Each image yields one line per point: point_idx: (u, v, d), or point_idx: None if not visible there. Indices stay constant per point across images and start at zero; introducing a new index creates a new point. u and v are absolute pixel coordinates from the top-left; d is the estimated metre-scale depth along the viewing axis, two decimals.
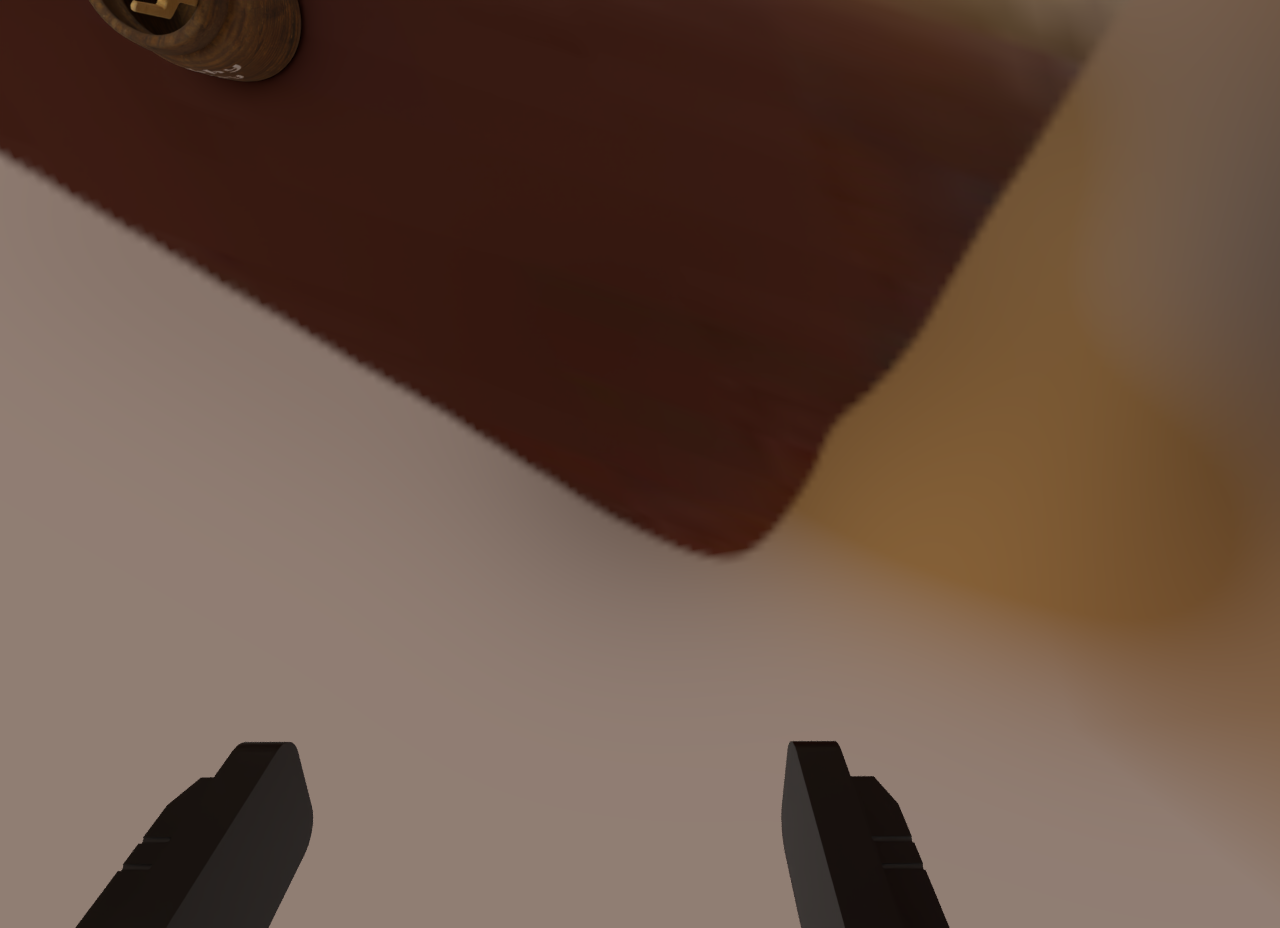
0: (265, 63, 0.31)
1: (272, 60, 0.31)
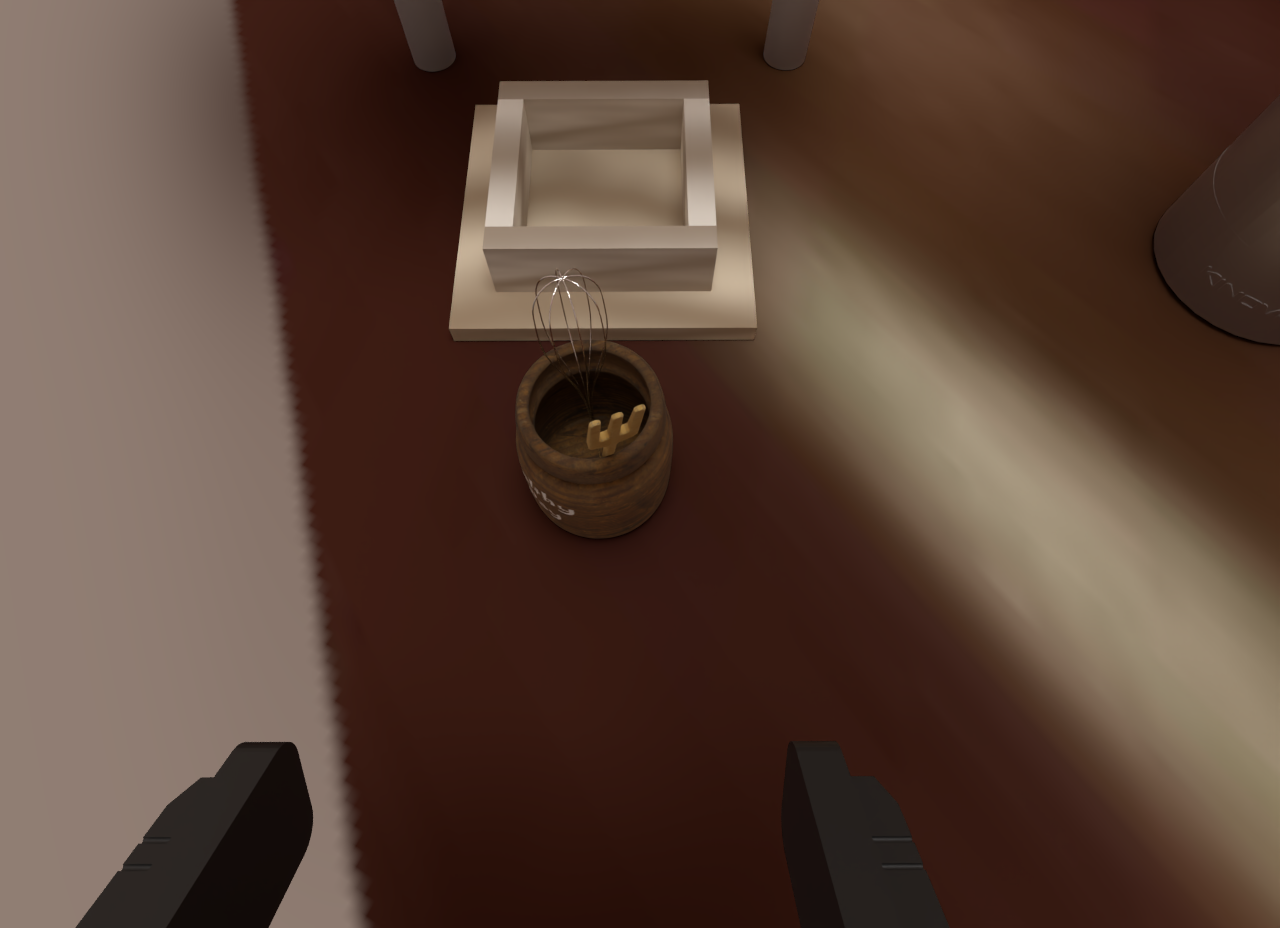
0: (591, 526, 0.27)
1: (598, 529, 0.27)
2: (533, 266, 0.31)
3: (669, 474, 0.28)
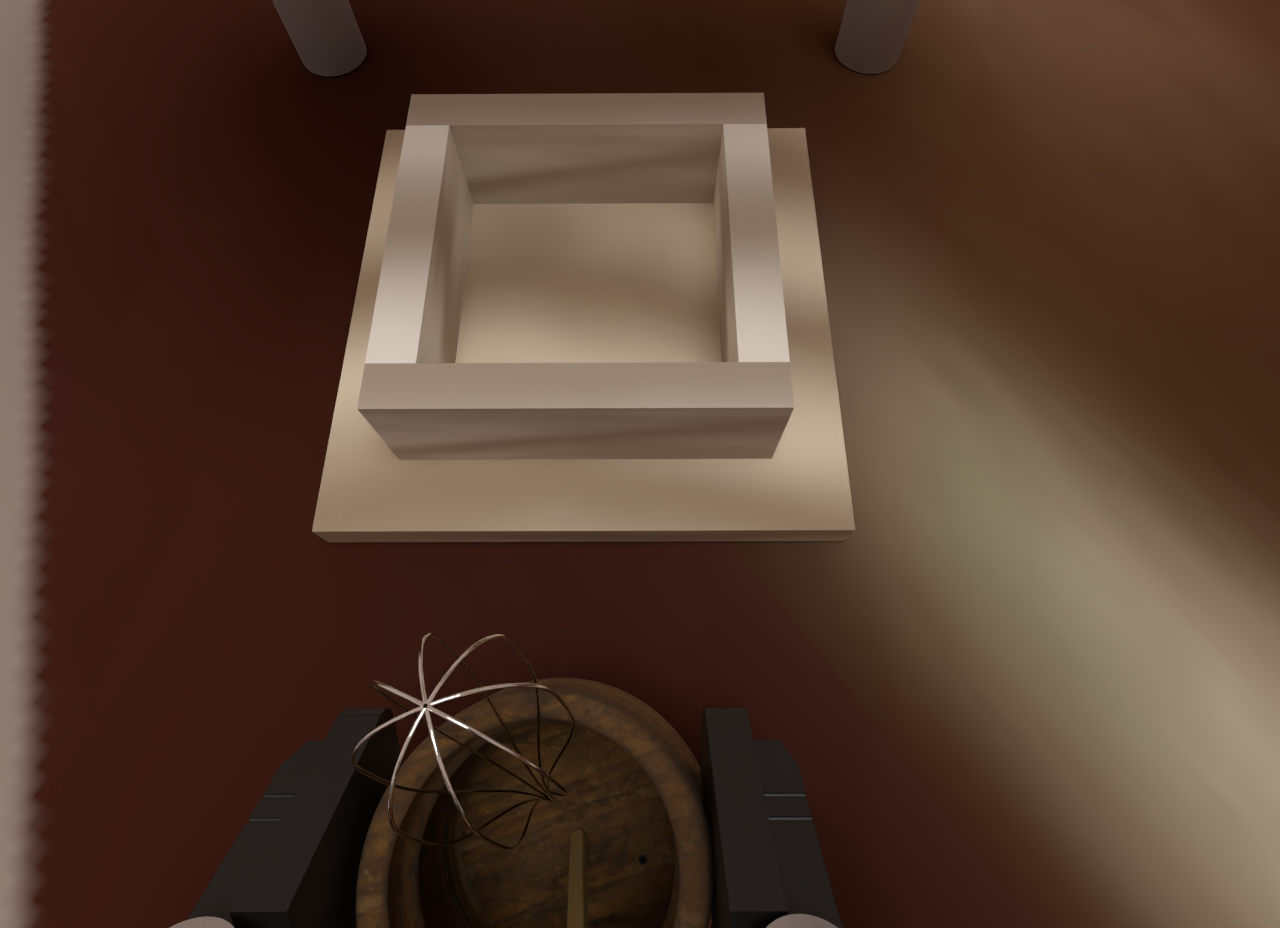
0: None
1: None
2: (456, 430, 0.17)
3: None
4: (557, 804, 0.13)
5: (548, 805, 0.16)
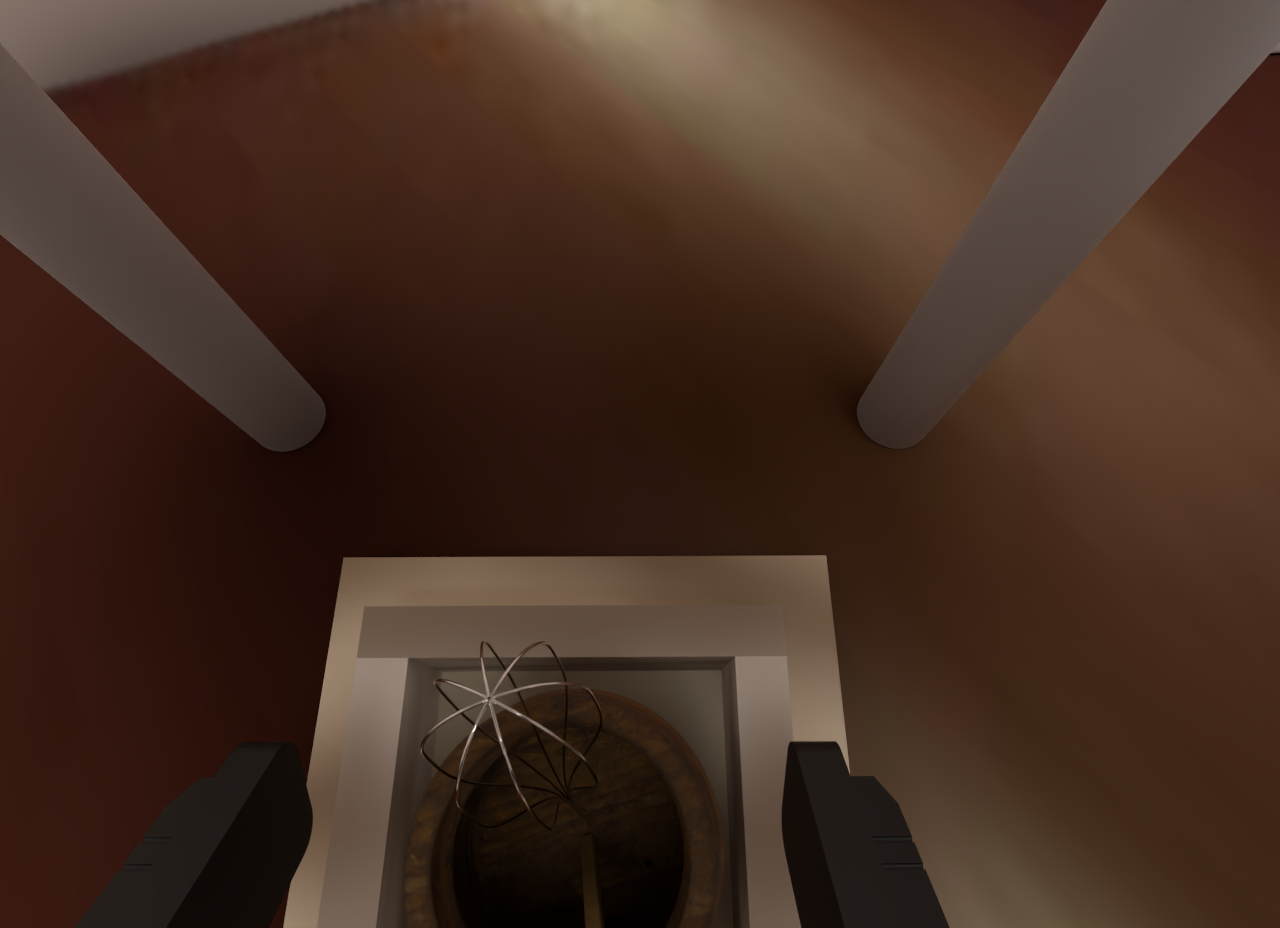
0: None
1: None
2: None
3: None
4: (574, 805, 0.14)
5: (560, 811, 0.17)
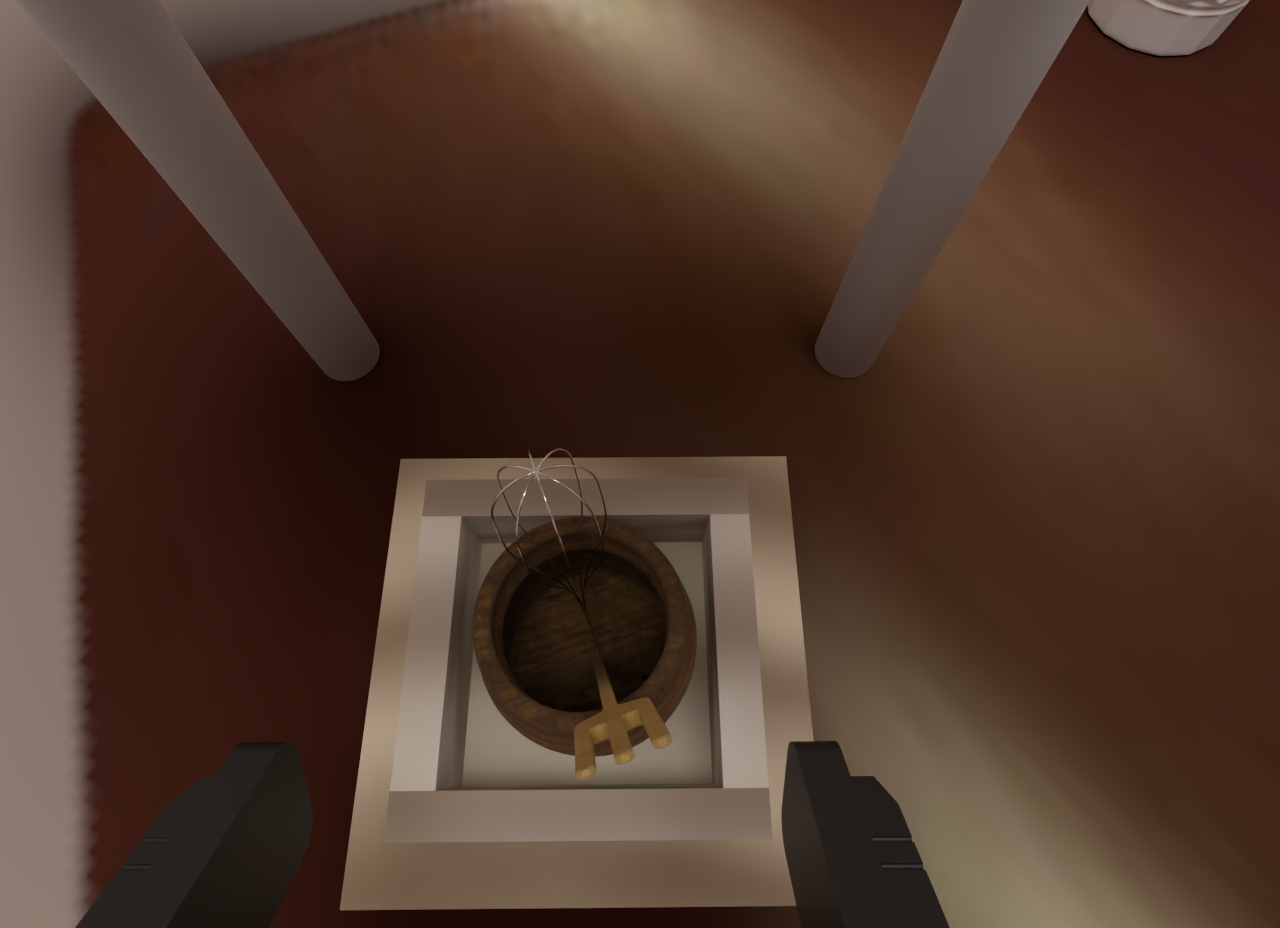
0: None
1: None
2: None
3: None
4: (587, 614, 0.19)
5: (576, 642, 0.22)
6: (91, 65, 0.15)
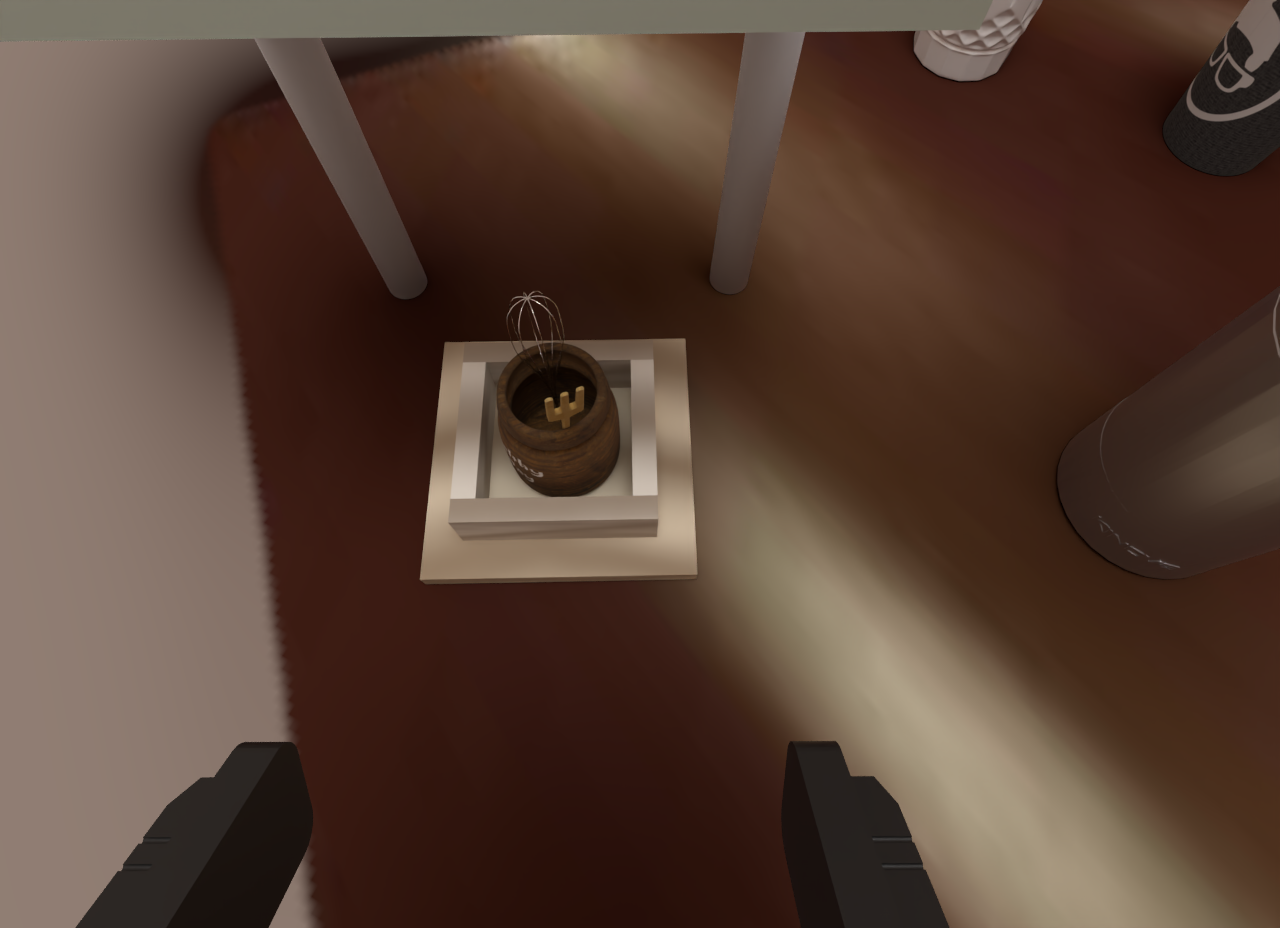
0: (557, 487, 0.34)
1: (562, 489, 0.35)
2: (494, 529, 0.34)
3: (618, 446, 0.35)
4: (558, 408, 0.35)
5: None
6: (305, 107, 0.30)
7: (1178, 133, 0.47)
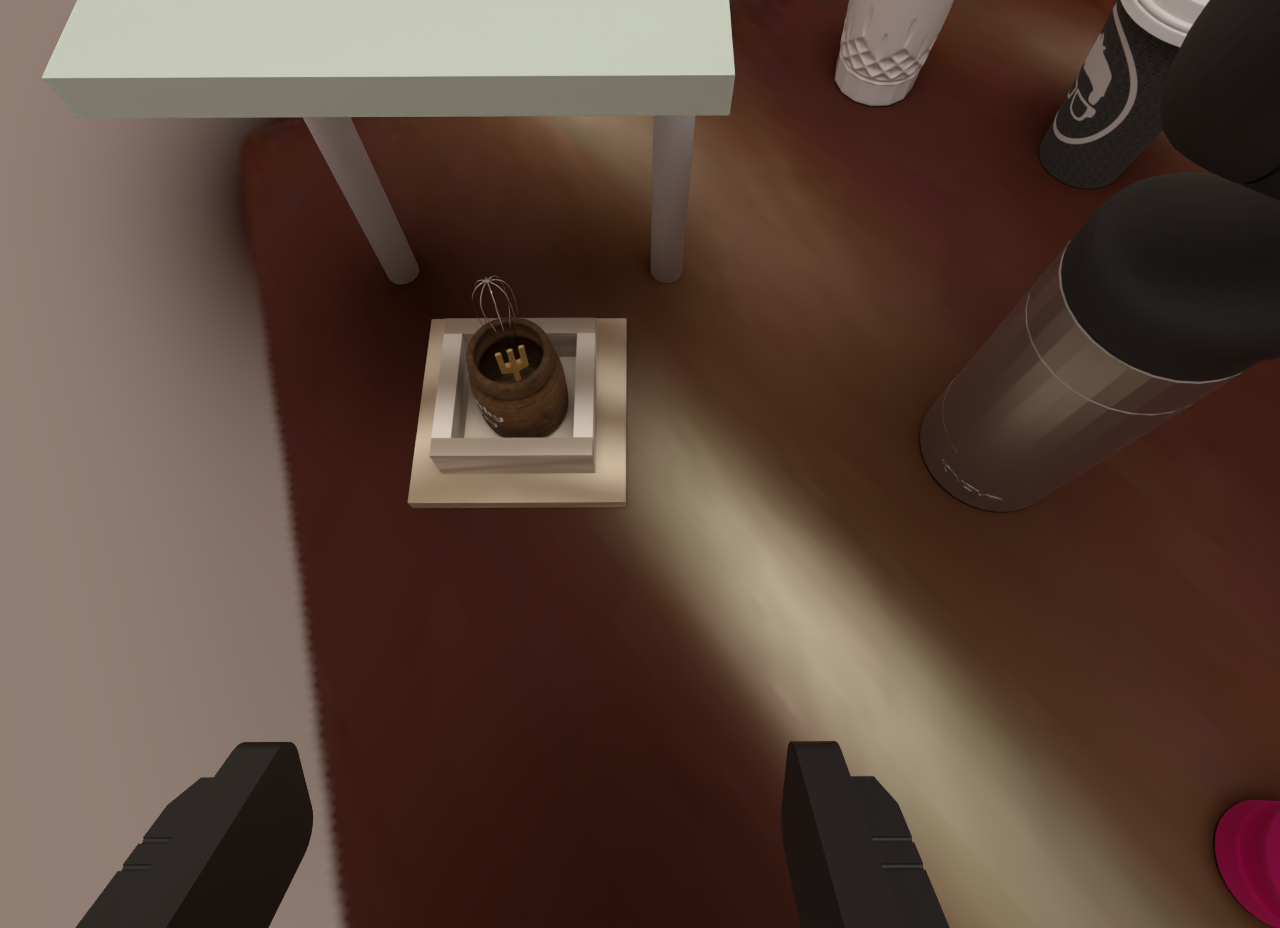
0: (515, 431, 0.44)
1: (520, 433, 0.44)
2: (466, 463, 0.44)
3: (565, 401, 0.45)
4: None
5: None
6: (323, 135, 0.40)
7: (1048, 152, 0.56)
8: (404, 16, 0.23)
